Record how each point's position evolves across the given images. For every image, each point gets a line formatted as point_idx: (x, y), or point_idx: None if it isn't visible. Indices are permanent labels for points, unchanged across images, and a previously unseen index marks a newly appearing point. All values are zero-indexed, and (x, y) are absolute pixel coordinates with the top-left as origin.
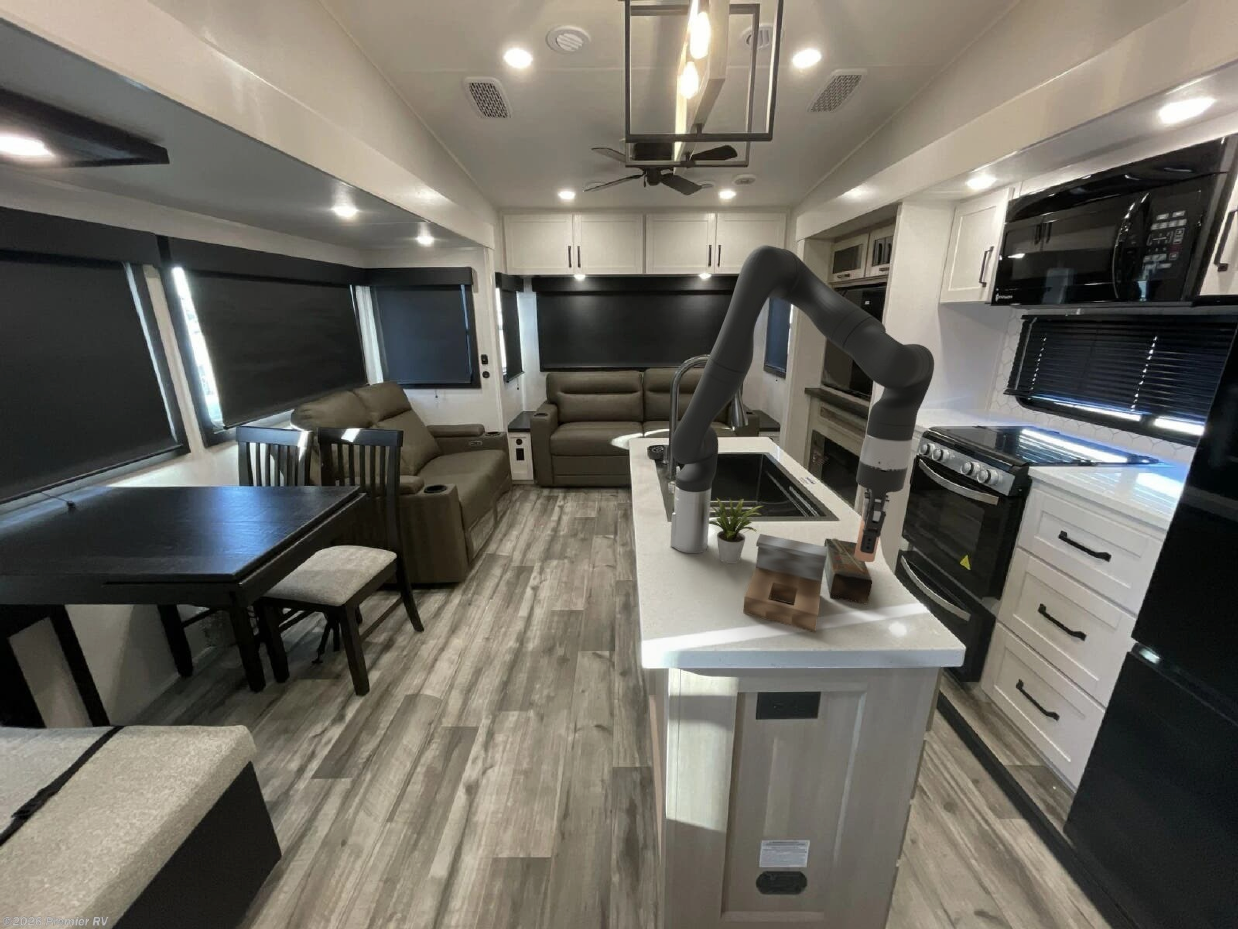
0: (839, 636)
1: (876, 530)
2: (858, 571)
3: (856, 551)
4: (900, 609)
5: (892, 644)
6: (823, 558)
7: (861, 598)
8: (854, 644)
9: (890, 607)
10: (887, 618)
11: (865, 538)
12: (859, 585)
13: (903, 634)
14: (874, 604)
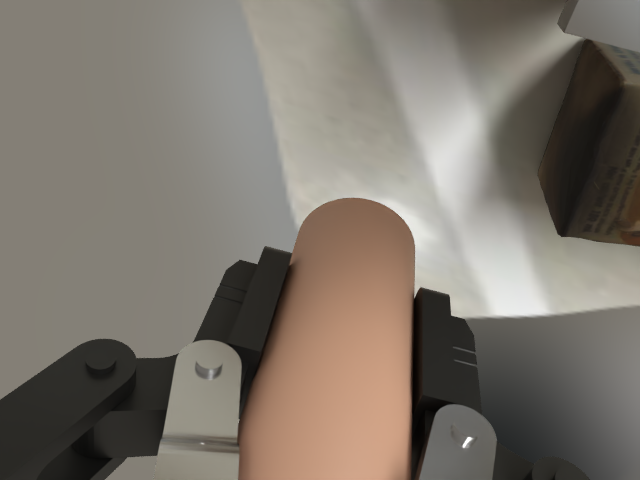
0: (299, 12)
1: (84, 453)
2: (637, 205)
3: (339, 223)
4: (509, 272)
5: (301, 182)
6: (566, 11)
7: (544, 164)
8: (265, 57)
9: (520, 246)
10: (448, 215)
11: (199, 330)
12: (561, 177)
13: None
14: (537, 201)
